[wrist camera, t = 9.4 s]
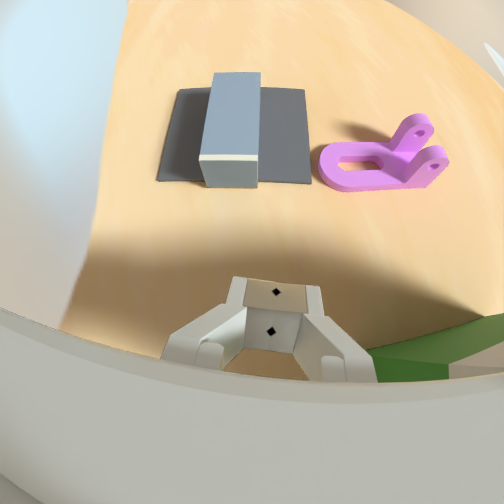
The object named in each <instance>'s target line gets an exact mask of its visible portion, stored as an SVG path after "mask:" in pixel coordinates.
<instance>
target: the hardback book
mask: <svg viewBox="0 0 504 504" xmlns="http://www.w3.org/2000/svg"><path fill="white" fill-rule="evenodd" d="M365 351H366V352H367V353H368V354H369V355H370V356H371V357H372V360H373V364H374V368H375V372H376V377H377V381H378V383H394V382H418V381H433V380H446V379H456V378H465V377H474V376H481V375H488V374H495V373H501V372H504V313H503V314H497V315H492V316H486V317H483V318H480V319H477V320H474V321H471V322H468V323H465V324H462V325H459V326H456V327H453V328H449V329H446V330H443V331H439V332H436V333H432V334H429V335H425V336H422V337H418V338H414V339H410V340H406V341H402V342H398V343H394V344H390V345H386V346H381V347H377V348H372V349H368V350H365Z"/></svg>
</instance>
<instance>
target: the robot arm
mask: <svg viewBox="0 0 504 504" xmlns="http://www.w3.org/2000/svg"><path fill="white" fill-rule="evenodd" d="M243 348H248V349H258V350H268V351H275V352H283V353H291V354H292V355H293V356H294V358H295V359H296V361H297V363H298V364H299V366H300V367H301V369H302V370H303V372H304V373H305V375H306V376H307V378H308V379H309V380H295V379H283V378H273V377H264V376H255V375H247V374H240V373H233V372H226V371H223V368H224V367H225V366H226V365H227V364H228V363H229V362H230V361H232V360H233V359H234V358H235V357H236V356H237V355H238V354H239V353H240V352H241V351H242V350H243ZM0 504H504V372H501V373H495V374H488V375H481V376H474V377H465V378H456V379H446V380H433V381H418V382H394V383H378V381H377V377H376V372H375V368H374V364H373V360H372V357H371V356H370V355H369V354H368V353H367V352H366V351H365V350H364V349H363V348H362V347H361V346H360V345H358V344H357V343H356V342H355V341H354V340H353V339H352V338H351V337H350V336H349V335H348V334H347V333H346V332H345V331H344V330H343V329H342V328H341V327H339V326H338V325H337V324H336V323H335V322H334V321H333V320H332V319H331V318H330V317H329V316H324V310H323V303H322V297H321V291H320V287H319V286H314V285H299V284H289V283H279V282H274V281H267V280H260V279H254V278H247V277H239V276H233V278H232V281H231V285H230V288H229V292H228V295H227V299H226V302H225V304H222V303H221V304H219V305H217V306H216V307H214V308H213V309H211V310H209V311H208V312H206V313H205V314H203V315H201V316H200V317H198V318H196V319H195V320H193V321H192V322H190V323H188V324H187V325H185V326H183V327H182V328H180V329H179V330H177V331H175V332H174V333H172V334H171V335H170V337H169V339H168V342H167V344H166V346H165V348H164V351H163V353H162V355H161V358H160V359H157V358H153V357H148V356H144V355H140V354H136V353H132V352H128V351H124V350H121V349H117V348H113V347H110V346H106V345H103V344H99V343H96V342H92V341H89V340H86V339H83V338H80V337H77V336H73V335H70V334H67V333H64V332H62V331H59V330H56V329H53V328H50V327H47V326H45V325H42V324H39V323H37V322H34V321H31V320H29V319H27V318H24V317H21V316H19V315H17V314H14V313H12V312H9V311H7V310H5V309H3V308H0Z"/></svg>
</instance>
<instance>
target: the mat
mask: <svg viewBox="0 0 504 504" xmlns="http://www.w3.org/2000/svg"><path fill="white" fill-rule="evenodd" d="M210 92H211V87H210V88H191V89H180V90H179V93H178V97H177V100H176V104H175V108H174V111H173V115H172V119H171V123H170V127H169V131H168V135H167V139H166V143H165V148H164V152H163V156H162V161H161V166H160V170H159V175H158V181H159V182H161V181H205V179H204V176H203V172H202V169H201V166H200V163H199V155H200V150H201V144H202V138H203V132H204V126H205V120H206V114H207V108H208V103H209V98H210ZM258 182H275V183H296V184H311V183H312V179H311V162H310V147H309V134H308V122H307V111H306V101H305V91H304V90H302V89H289V88H270V87H260V124H259V154H258Z"/></svg>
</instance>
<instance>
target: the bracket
mask: <svg viewBox="0 0 504 504" xmlns="http://www.w3.org/2000/svg"><path fill="white" fill-rule="evenodd" d="M433 132H434V128H433V126H432V124H431V122H430V120H429V118H428V116H427V115H425V114H413V115H410V116H408V117H407V118H405V119H404V120H403V121H402V122H401V124H400V126H399V127H398V129H397V131H396V132H395V134H394V136H393V137H392V139H391V140H390V141H388V142H339V143H333V144H330V145H328V146H326V147H325V148H324V149H323V151H322V152H321V155H320V158H319V161H318V172H319V174H320V176H321V178H322V180H323V181H324V182H325V183H326V184H327V185H328V186H330V187H331V188H333V189H335V190H337V191H340V192H360V191H375V190H391V189H410V188H426V187H427V186H428V185H429V184H430V183H431V182H432V181H433V180H434V179H435V178H436V177H437V176H438V175H439V174H440V173H441V172H442V171H443V170H444V169H445V168H446V167H447V166H448V164H449V160H448V157H447V155H446V153H445V151H444V149H443V147H441V146H430V147H427V148H424V149H422V150H421V148H422V147H423V146H424V145H425V143H426V142H427V141H428V139H429V138H430V137H431V135H432V134H433ZM420 150H421V151H420ZM365 161H372V162H375V163H376V164H378V166H379V167H380V170H360V171H344V170H342V169H341V168H339V166H338V164H337V163H341V162H365Z"/></svg>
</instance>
